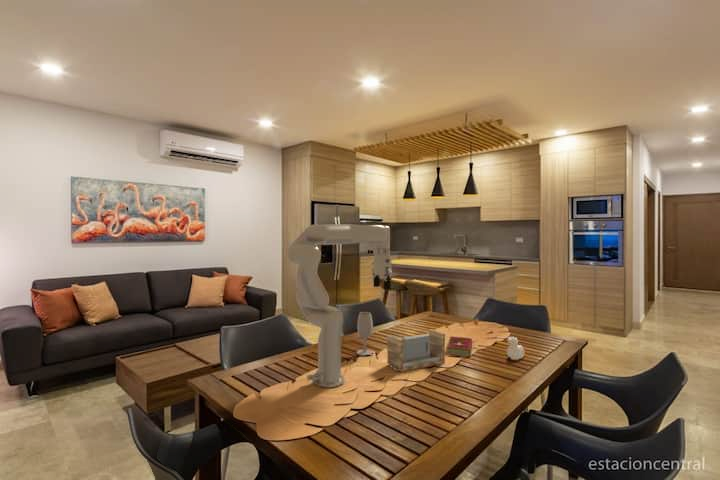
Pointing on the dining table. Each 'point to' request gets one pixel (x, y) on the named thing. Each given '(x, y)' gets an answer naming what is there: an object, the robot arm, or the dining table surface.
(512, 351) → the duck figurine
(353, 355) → the dining table surface
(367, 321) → the wineglass
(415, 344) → the door panel
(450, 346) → the hardcover book
